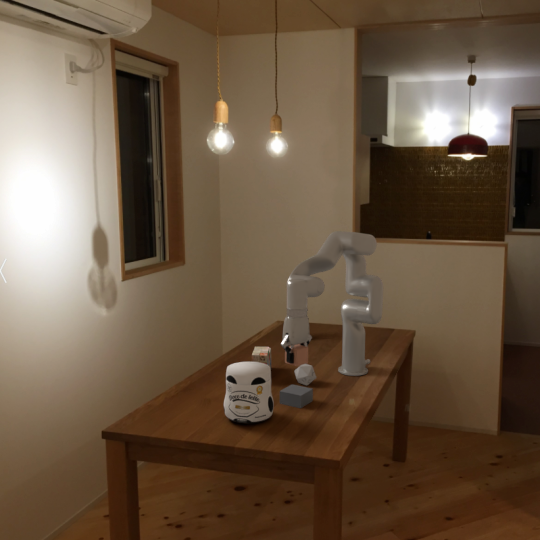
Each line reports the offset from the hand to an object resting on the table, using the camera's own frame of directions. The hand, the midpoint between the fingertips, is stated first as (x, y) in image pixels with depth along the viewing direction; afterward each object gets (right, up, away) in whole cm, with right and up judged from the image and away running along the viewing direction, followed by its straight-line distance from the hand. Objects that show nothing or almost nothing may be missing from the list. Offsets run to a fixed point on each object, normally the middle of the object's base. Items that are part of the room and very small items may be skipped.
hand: (296, 360), depth 232 cm
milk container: (-17, -18, -13) cm, 28 cm away
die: (+5, -13, +23) cm, 27 cm away
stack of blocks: (-13, -11, +33) cm, 38 cm away
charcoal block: (0, -16, +3) cm, 16 cm away
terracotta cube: (0, -1, 0) cm, 1 cm away
